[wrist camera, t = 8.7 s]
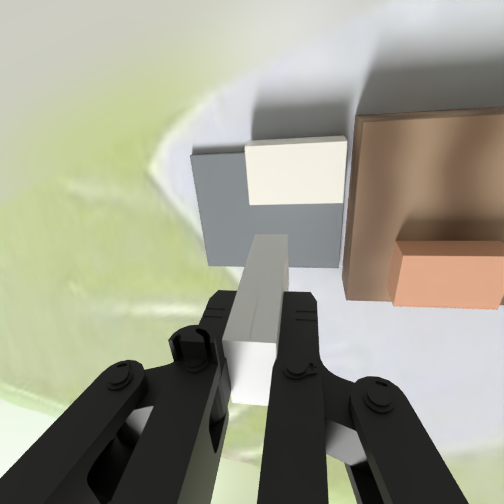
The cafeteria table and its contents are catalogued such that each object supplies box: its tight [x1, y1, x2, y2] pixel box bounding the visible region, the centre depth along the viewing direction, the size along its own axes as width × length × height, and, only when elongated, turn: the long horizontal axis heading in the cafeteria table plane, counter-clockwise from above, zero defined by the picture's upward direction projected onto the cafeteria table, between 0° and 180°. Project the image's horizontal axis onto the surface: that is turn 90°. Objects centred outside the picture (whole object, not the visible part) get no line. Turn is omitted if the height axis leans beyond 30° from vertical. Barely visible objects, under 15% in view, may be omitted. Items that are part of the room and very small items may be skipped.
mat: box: [190, 149, 348, 268], centre depth 31 cm, size 14×12×1 cm
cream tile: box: [245, 135, 347, 205], centre depth 27 cm, size 8×5×2 cm, turn 95°
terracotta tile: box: [387, 241, 504, 310], centre depth 26 cm, size 8×5×2 cm, turn 94°
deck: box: [342, 107, 504, 305], centre depth 26 cm, size 16×16×4 cm
